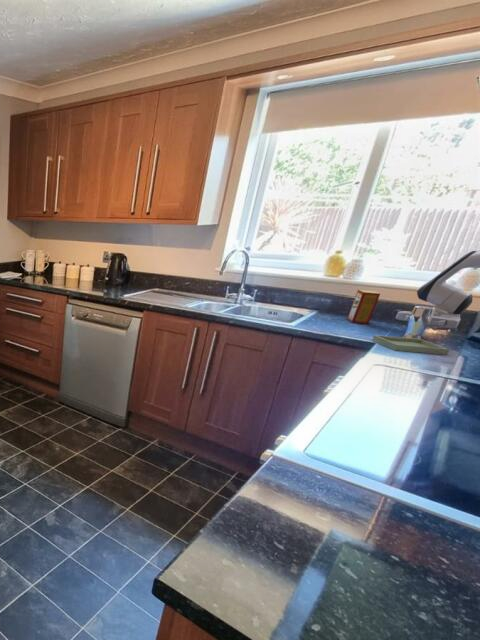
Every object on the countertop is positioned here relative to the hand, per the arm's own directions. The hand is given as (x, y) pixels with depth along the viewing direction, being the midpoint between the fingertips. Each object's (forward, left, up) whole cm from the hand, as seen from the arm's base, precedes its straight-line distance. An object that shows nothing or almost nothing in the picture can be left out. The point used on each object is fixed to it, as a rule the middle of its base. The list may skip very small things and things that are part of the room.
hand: (422, 321), depth 189 cm
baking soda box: (+6, -33, -9) cm, 34 cm away
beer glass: (+3, +3, -9) cm, 10 cm away
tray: (+12, +17, -8) cm, 23 cm away
